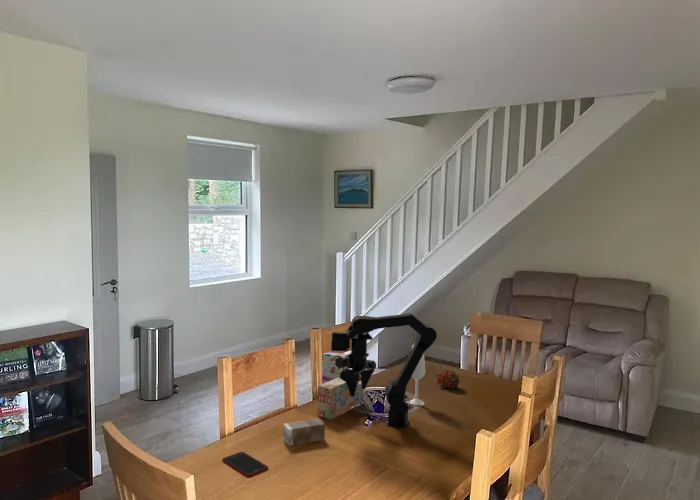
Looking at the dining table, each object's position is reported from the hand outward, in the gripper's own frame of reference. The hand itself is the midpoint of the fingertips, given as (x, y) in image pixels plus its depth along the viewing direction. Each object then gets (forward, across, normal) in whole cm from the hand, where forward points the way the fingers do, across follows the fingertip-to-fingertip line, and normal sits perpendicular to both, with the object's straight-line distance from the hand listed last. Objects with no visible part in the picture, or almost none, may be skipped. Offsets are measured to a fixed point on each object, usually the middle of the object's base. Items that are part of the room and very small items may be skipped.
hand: (358, 392), depth 196 cm
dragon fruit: (+12, -58, +16) cm, 61 cm away
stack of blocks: (+12, -10, -12) cm, 20 cm away
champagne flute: (+12, -32, +11) cm, 36 cm away
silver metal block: (+9, +15, -6) cm, 19 cm away
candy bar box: (+12, -28, -25) cm, 39 cm away
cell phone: (+13, +45, -16) cm, 49 cm away
